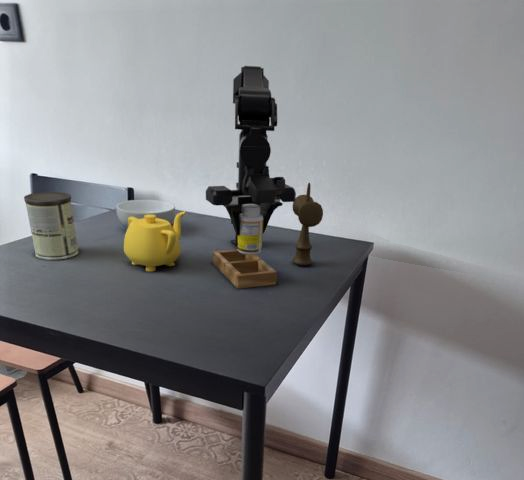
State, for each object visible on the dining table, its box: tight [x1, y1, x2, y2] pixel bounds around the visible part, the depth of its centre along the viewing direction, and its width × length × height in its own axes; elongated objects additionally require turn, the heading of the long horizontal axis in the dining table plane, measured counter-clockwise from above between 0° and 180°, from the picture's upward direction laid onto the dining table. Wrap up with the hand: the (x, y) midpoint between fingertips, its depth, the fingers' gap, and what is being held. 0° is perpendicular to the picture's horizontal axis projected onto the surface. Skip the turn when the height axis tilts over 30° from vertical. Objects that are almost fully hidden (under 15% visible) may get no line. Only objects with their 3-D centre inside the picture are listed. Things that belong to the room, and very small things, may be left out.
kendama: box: [292, 182, 324, 267], centre depth 119 cm, size 6×10×20 cm, turn 8°
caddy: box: [212, 248, 278, 290], centre depth 115 cm, size 18×9×3 cm, turn 23°
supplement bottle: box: [237, 204, 264, 255], centre depth 106 cm, size 6×6×10 cm
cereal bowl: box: [115, 199, 176, 228], centre depth 142 cm, size 17×17×7 cm
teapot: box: [123, 210, 186, 272], centre depth 116 cm, size 14×14×12 cm
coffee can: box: [23, 191, 80, 261], centre depth 118 cm, size 10×10×14 cm
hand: (249, 234), depth 107 cm, fingers closed on supplement bottle, 5 cm apart
